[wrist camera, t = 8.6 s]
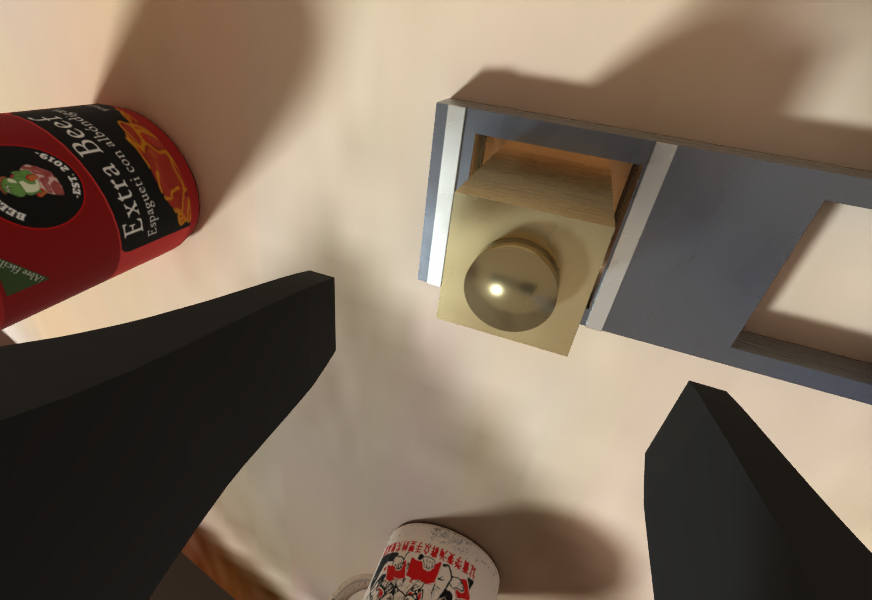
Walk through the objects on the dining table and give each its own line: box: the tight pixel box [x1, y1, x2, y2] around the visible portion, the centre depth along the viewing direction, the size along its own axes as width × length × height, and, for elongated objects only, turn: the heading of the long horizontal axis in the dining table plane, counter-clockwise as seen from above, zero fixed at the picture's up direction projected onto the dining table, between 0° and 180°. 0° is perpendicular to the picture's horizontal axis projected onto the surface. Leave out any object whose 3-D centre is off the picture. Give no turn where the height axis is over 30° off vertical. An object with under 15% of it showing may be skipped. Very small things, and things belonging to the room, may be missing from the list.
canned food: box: [0, 104, 199, 330], centre depth 18 cm, size 8×8×11 cm
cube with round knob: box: [437, 148, 615, 356], centre depth 14 cm, size 4×4×7 cm
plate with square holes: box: [418, 98, 872, 405], centre depth 15 cm, size 7×19×2 cm, turn 83°
